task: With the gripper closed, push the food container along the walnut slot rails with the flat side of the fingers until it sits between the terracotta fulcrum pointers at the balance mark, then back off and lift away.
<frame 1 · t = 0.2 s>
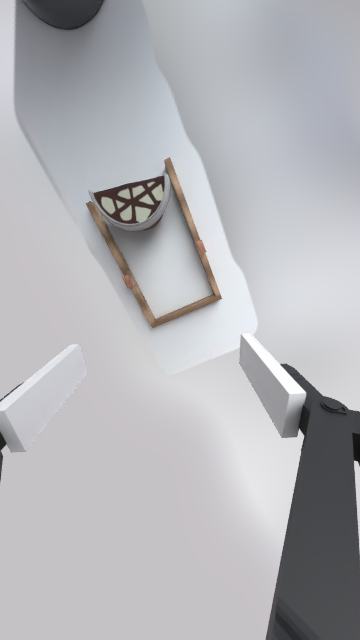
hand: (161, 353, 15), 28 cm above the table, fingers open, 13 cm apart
slot rails: (159, 252, 38), on the table
food container: (144, 219, 36), on the table
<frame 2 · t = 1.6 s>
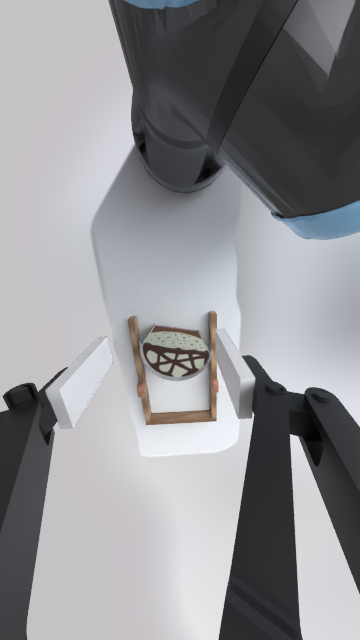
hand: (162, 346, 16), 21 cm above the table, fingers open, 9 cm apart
slot rails: (177, 368, 41), on the table
food container: (174, 340, 38), on the table
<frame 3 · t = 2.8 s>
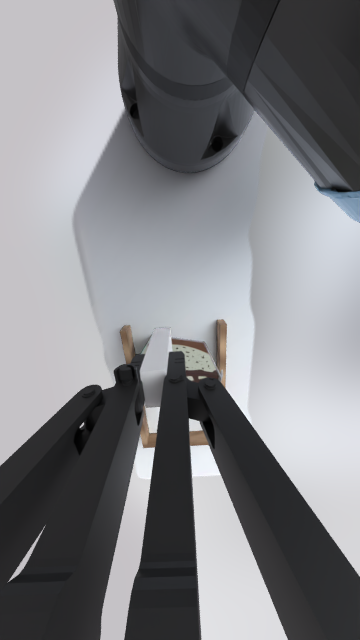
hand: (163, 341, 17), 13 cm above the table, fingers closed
slot rails: (178, 384, 35), on the table
food container: (176, 352, 33), on the table
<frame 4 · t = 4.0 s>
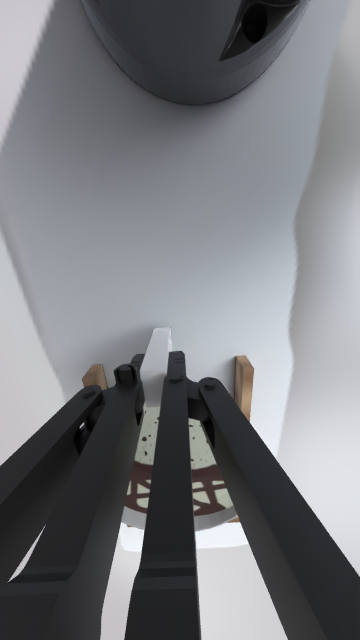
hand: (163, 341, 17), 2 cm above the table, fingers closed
slot rails: (177, 442, 24), on the table
food container: (173, 401, 22), on the table
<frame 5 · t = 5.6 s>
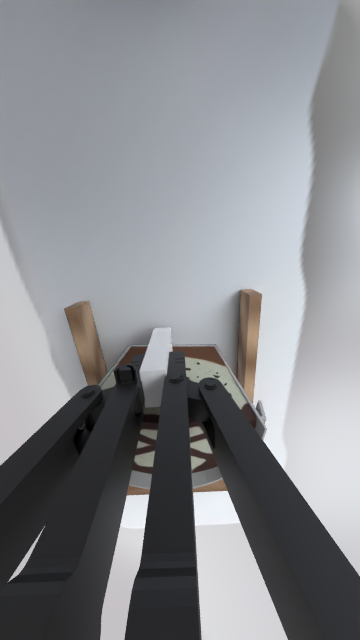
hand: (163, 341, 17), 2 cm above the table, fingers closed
slot rails: (175, 399, 22), on the table
food container: (173, 367, 20), on the table, touching gripper
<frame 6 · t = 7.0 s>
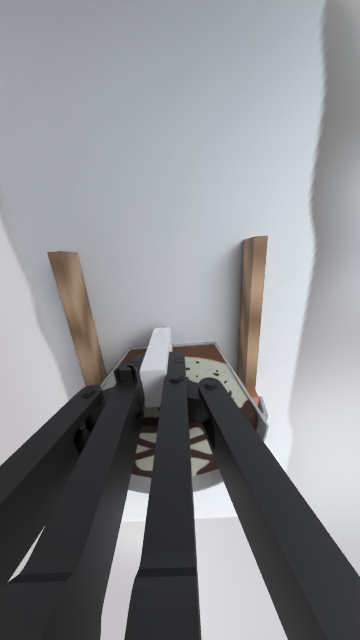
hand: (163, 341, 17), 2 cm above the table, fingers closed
slot rails: (171, 370, 20), on the table
food container: (174, 368, 20), on the table, touching gripper
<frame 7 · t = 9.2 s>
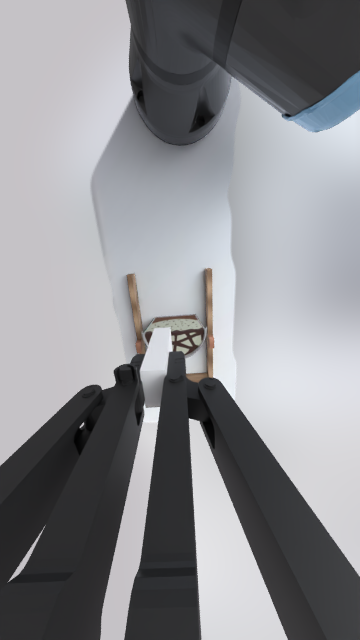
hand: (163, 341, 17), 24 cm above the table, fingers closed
slot rails: (174, 328, 42), on the table
food container: (176, 327, 42), on the table
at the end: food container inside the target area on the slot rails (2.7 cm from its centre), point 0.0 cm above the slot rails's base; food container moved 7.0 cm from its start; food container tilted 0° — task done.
